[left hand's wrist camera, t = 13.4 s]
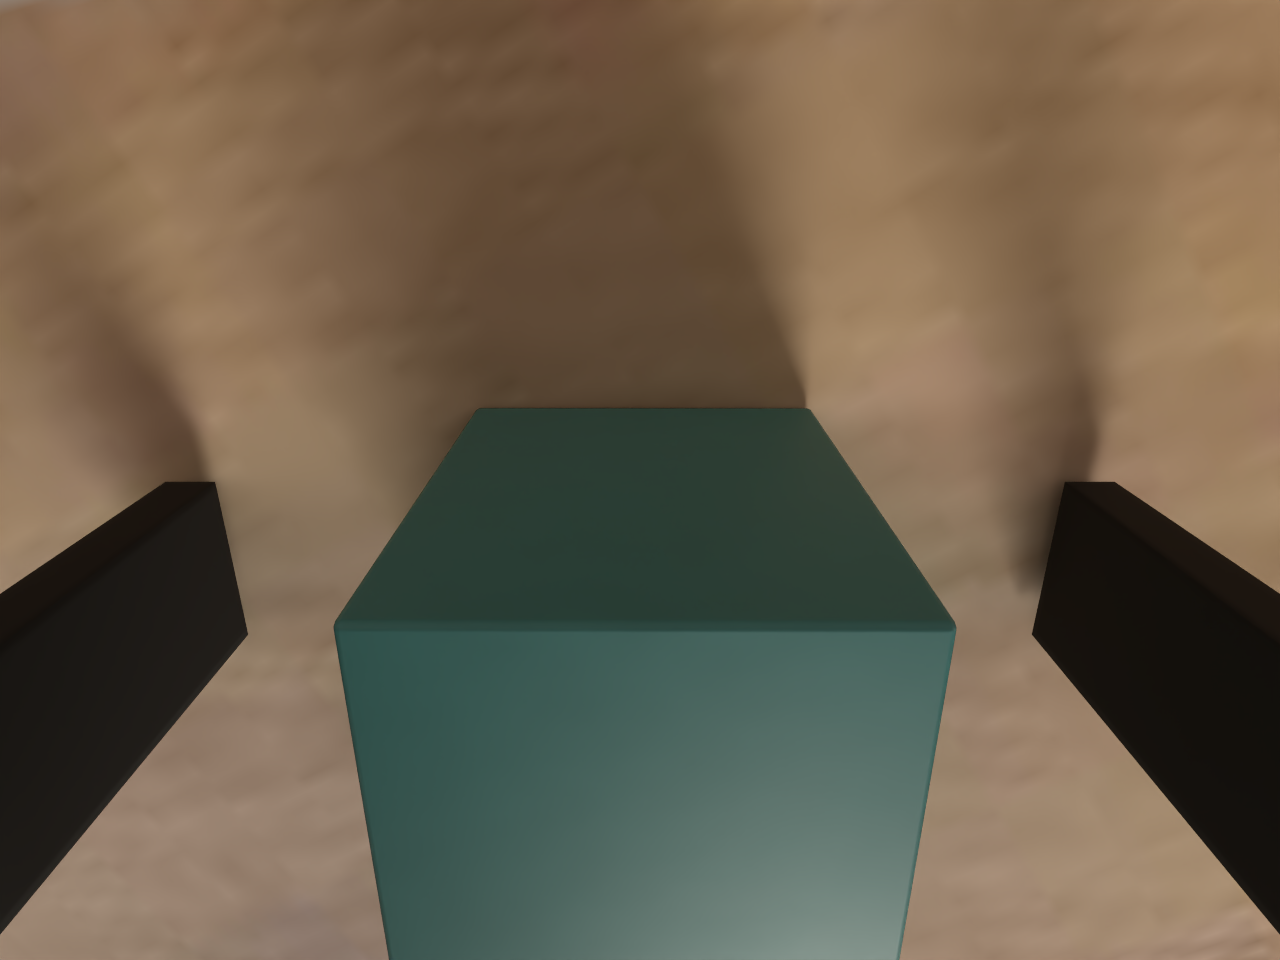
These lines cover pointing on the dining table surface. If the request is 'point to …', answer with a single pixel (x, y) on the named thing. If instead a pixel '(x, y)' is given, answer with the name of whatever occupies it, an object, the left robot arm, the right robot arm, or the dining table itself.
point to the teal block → (644, 695)
